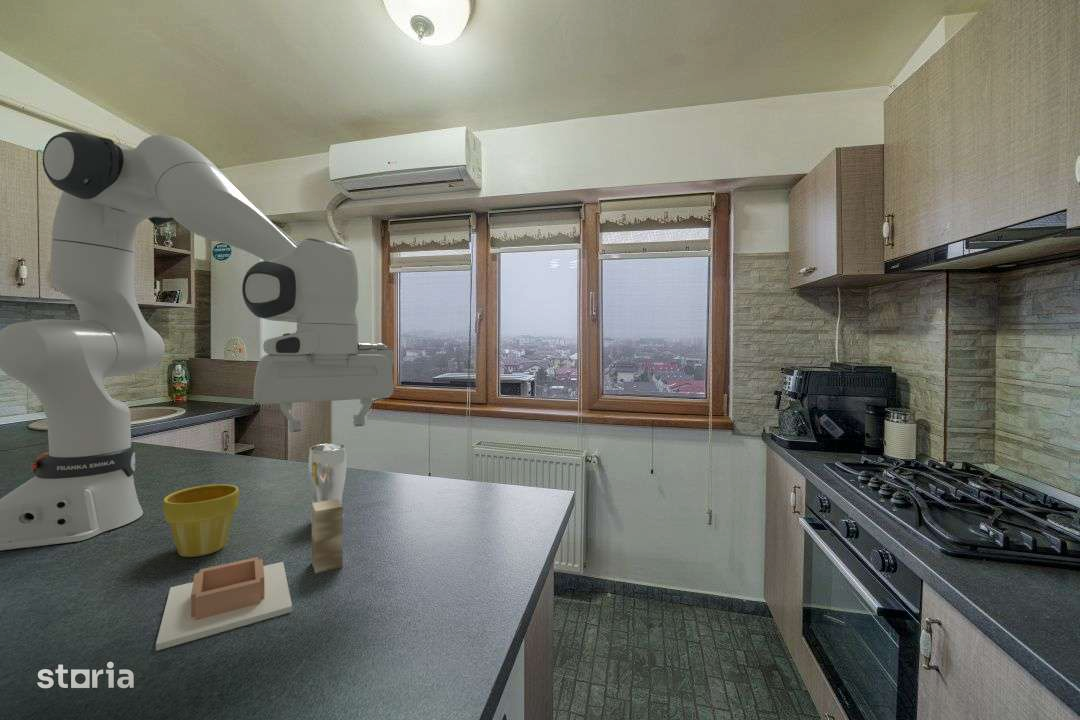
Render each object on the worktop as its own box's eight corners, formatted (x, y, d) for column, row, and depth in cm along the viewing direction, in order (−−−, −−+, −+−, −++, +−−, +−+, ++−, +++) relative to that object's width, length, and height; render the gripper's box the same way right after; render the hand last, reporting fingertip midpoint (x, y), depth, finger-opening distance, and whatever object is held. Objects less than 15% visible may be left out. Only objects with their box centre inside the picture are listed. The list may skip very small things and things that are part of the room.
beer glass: (331, 529, 85) (331, 452, 85) (299, 525, 87) (300, 449, 86) (353, 515, 92) (353, 444, 91) (324, 511, 93) (324, 441, 93)
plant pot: (198, 534, 82) (197, 482, 81) (252, 536, 81) (252, 484, 81) (146, 562, 71) (145, 502, 71) (208, 564, 71) (208, 505, 71)
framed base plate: (155, 650, 52) (155, 619, 51) (170, 592, 63) (170, 566, 63) (292, 611, 60) (292, 584, 59) (283, 566, 71) (283, 543, 71)
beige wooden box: (315, 573, 69) (315, 511, 69) (311, 562, 73) (311, 503, 72) (342, 566, 72) (343, 506, 71) (337, 556, 75) (338, 498, 74)
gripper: (388, 343, 79) (388, 419, 79) (252, 341, 67) (253, 430, 68) (399, 344, 74) (398, 426, 74) (253, 342, 62) (254, 439, 63)
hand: (328, 428), depth 71 cm, fingers open, 8 cm apart
